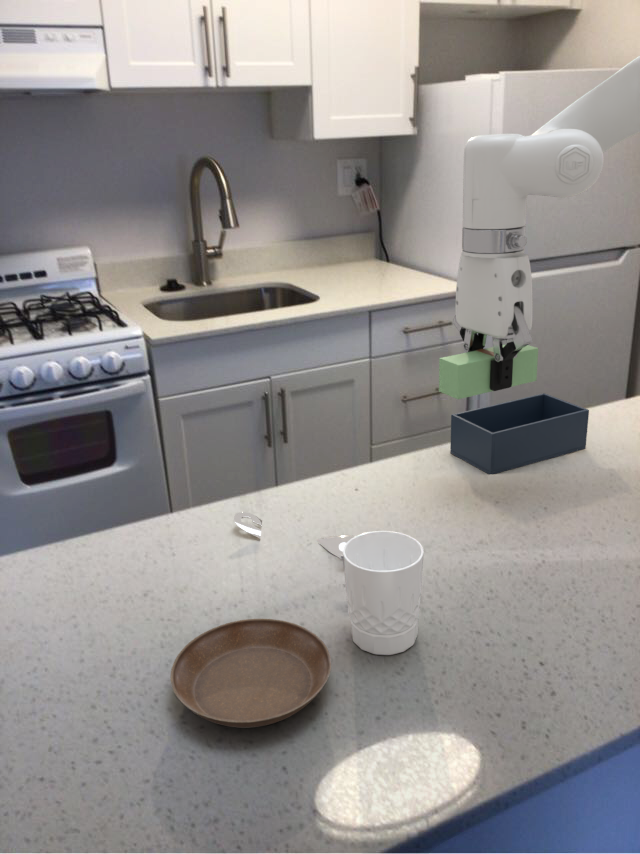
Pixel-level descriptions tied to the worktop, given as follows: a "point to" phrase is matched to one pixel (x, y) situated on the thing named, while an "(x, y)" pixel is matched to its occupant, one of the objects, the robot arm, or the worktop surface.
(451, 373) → the light green rectangular block
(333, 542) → the ceramic shards
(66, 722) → the worktop surface
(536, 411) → the bin
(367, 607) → the white cup
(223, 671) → the saucer
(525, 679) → the worktop surface
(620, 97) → the robot arm
